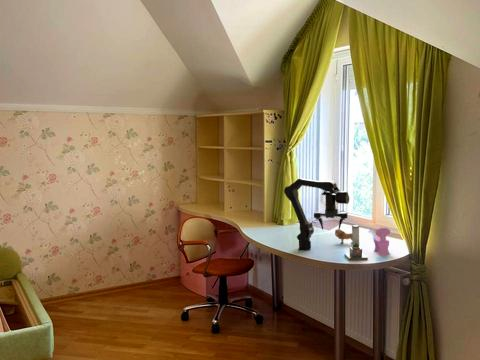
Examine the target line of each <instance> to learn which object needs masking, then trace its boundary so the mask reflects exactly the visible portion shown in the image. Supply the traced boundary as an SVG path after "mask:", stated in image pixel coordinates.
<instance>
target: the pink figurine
mask: <svg viewBox="0 0 480 360" xmlns="http://www.w3.org/2000/svg"><path fill="white" fill-rule="evenodd" d="M390 234H391V230H390V228H388V227H379V228H377V229H376V230H375V235H376V236H377V237H379V238H373V242H374V250H373V251H374V252H378V256H389V255H391V253H390V251H389V246H390V240H388V239H387V236H389V235H390Z"/></svg>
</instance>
